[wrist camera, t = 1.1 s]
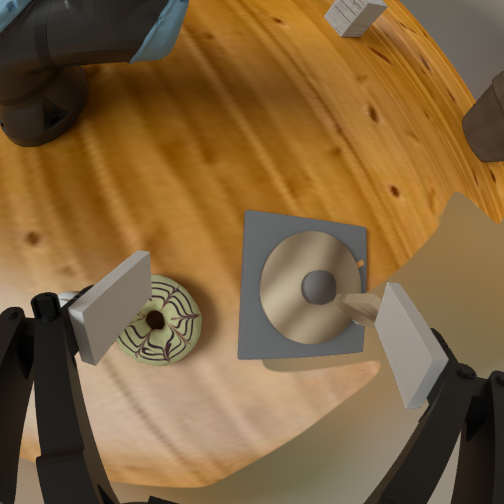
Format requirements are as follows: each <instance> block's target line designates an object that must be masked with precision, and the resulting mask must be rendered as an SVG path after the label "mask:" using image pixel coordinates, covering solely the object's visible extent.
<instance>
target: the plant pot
mask: <svg viewBox="0 0 504 504" xmlns="http://www.w3.org/2000/svg"><path fill="white" fill-rule="evenodd" d="M462 125H463V130H464V133H465V136H466V139H467V141H468V143H469V145H470V147H471V148H472V150H473V151H474V153H475V154H476V156H477V157H478V158H479V159H480V160H481V161H483V162H500V161H504V71H502V72H501V73H500V74H498V75H497V76H495V77H494V78H493V80H492V84H491V85H490V86H489V88H488V89H487V90H486V91H485V92H484V93H483V95H482V96H481V97H480V98H479V99H478V101H477V102H476V103H475V104H474V105H473V106H472V108H471V109H470V110H469V111H468V112H467V114H466V115H465V116H464V118H463V121H462Z"/></svg>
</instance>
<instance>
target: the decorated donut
mask: <svg viewBox="0 0 504 504" xmlns="http://www.w3.org/2000/svg"><path fill="white" fill-rule="evenodd" d="M151 286H152V296H151V297H150V299H149V300H148V301H147V302H146V303H145V305H144V306H143V307H142V308H141V309H140V311H139V312H138V313H137V314H136V316H135V317H134V318H133V319H132V320H131V322H130V323H129V324H128V325H127V327H126V328H125V329H124V330H123V332H122V333H121V334H120V335H119V337H118V338H117V339H116V341H117V343H118V344H119V346H120V348H121V350H122V351H123V352H124V353H125V354H126V355H129V356H132V357H133V358H134V360H135V361H137V362H142V363H147V364H150V365H153V366H167V365H169V364H172V363H175V362H177V361H179V360H181V359H182V358H183V357H185V356H186V355H187V354H188V353H189V352H190V351H191V350H192V349H193V347H194V346H195V345H196V343H197V341H198V339H199V337H200V333H201V326H202V316H201V313H200V311H199V308H198V305H197V304H196V302H195V301H194V300H193V298H192V296H191V295H190V294H189V292H188V291H187V290H186V289H185V288H184V287H183V286H181V285H180V284H179V283H177V282H176V281H174V280H172V279H170V278H168V277H165V276H162V275H151ZM152 311H159V312H161V313H162V314H163V316H164V320H165V325H164V327H163V328H162V329H160V330H159V329H155V330H153V329H151V327H149V326H148V324H147V322H146V317H147V315H148V314H149V313H150V312H152Z"/></svg>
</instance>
